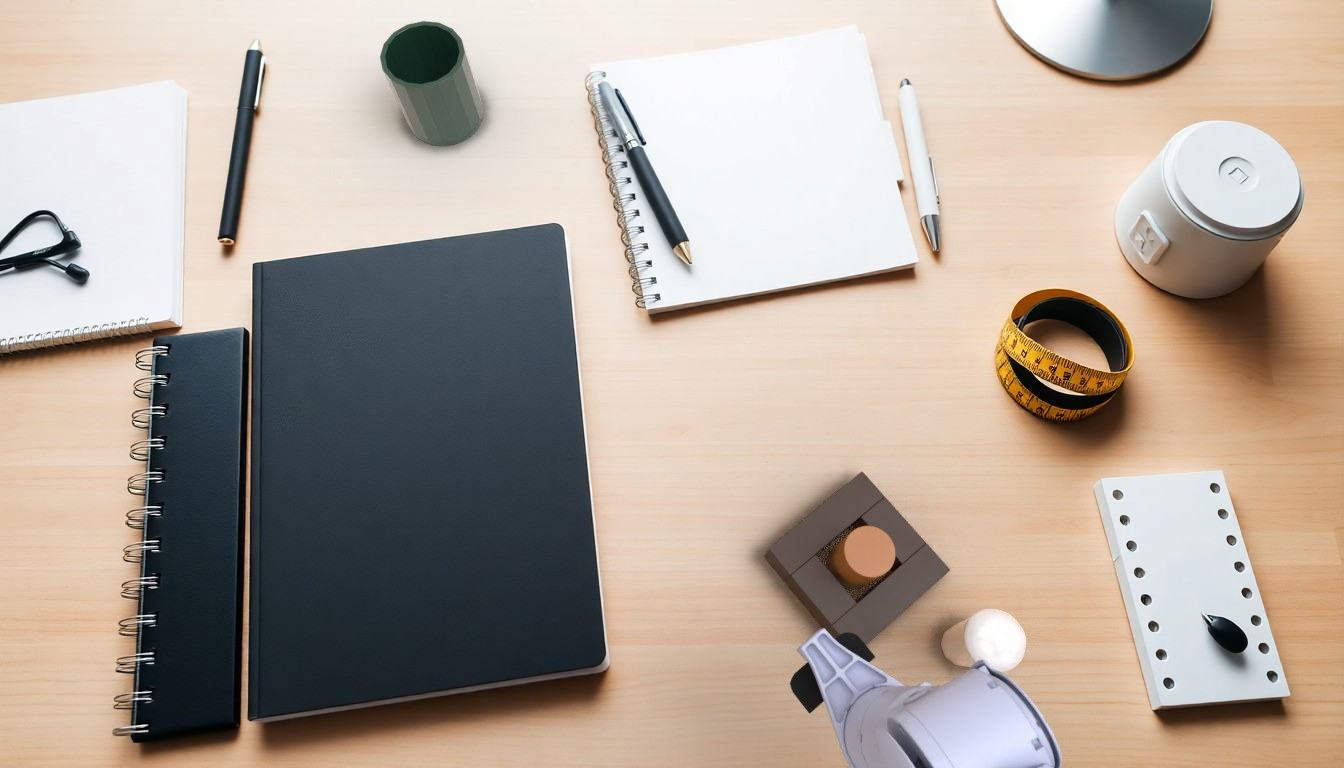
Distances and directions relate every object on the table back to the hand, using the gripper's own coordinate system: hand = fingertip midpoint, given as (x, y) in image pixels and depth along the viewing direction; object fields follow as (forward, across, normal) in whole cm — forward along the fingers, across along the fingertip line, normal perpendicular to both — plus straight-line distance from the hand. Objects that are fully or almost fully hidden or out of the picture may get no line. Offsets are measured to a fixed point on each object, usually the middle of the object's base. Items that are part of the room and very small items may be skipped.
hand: (858, 729), depth 59 cm
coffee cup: (+10, +70, -8) cm, 71 cm away
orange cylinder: (+9, +9, -10) cm, 16 cm away
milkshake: (+10, -2, -12) cm, 16 cm away
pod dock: (+9, +9, -10) cm, 16 cm away
